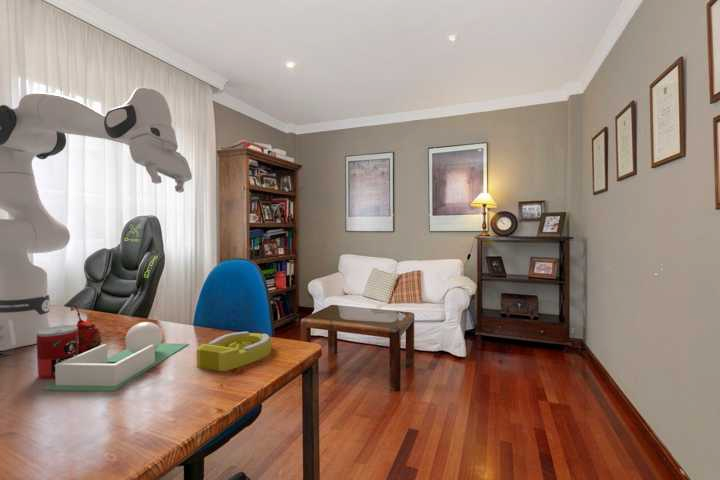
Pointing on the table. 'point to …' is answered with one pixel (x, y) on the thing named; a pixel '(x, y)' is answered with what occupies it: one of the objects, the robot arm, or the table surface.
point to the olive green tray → (233, 351)
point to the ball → (143, 336)
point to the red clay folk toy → (87, 334)
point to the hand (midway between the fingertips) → (169, 187)
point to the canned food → (55, 348)
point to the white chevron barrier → (101, 367)
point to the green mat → (160, 354)
